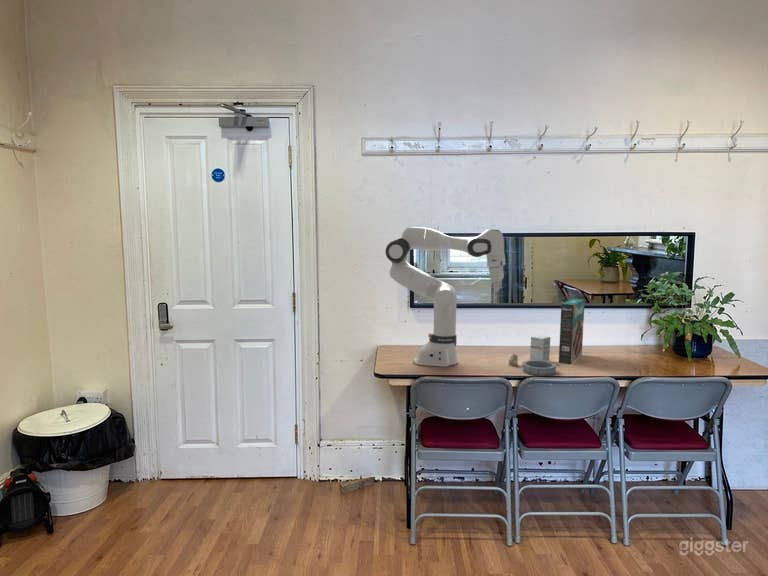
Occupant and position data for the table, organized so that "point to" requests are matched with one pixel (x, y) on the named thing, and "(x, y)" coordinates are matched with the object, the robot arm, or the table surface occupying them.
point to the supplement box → (540, 348)
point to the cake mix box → (571, 330)
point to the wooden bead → (513, 359)
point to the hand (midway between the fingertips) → (498, 289)
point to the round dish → (539, 367)
